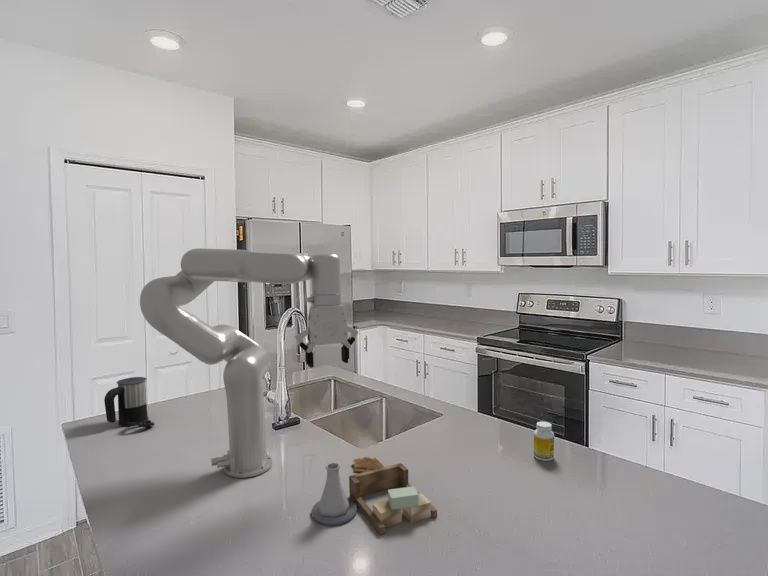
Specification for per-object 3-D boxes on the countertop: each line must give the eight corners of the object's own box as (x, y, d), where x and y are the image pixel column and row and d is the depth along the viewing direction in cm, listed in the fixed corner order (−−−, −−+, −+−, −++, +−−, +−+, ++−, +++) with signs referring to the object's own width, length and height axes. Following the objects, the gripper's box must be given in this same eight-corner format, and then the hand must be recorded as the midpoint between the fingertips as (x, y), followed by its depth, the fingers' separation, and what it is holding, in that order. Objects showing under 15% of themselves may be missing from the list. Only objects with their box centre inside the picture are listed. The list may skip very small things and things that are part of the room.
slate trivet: (320, 530, 94) (320, 527, 94) (306, 506, 103) (306, 503, 103) (363, 517, 98) (363, 514, 98) (346, 495, 107) (346, 492, 107)
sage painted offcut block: (391, 509, 96) (391, 498, 96) (388, 500, 99) (387, 489, 99) (418, 505, 97) (418, 494, 97) (414, 496, 100) (414, 486, 100)
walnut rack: (379, 534, 92) (379, 511, 92) (349, 496, 107) (349, 475, 107) (437, 516, 99) (437, 494, 98) (401, 482, 113) (400, 463, 113)
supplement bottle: (534, 451, 130) (535, 419, 129) (554, 454, 127) (555, 422, 127) (532, 459, 125) (532, 425, 124) (553, 463, 123) (553, 428, 122)
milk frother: (131, 416, 162) (129, 376, 161) (171, 417, 160) (169, 377, 159) (101, 431, 148) (98, 388, 147) (144, 434, 146) (142, 389, 145)
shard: (390, 479, 116) (390, 472, 116) (362, 485, 113) (362, 478, 113) (375, 461, 126) (374, 454, 126) (349, 466, 123) (348, 460, 123)
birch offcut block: (411, 523, 96) (411, 508, 96) (402, 514, 100) (402, 499, 100) (431, 517, 99) (431, 502, 98) (421, 508, 102) (421, 493, 102)
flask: (318, 500, 104) (317, 459, 103) (349, 498, 105) (348, 457, 104) (316, 519, 97) (315, 474, 96) (350, 516, 97) (349, 472, 97)
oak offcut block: (381, 529, 95) (380, 513, 94) (373, 519, 98) (372, 503, 98) (401, 522, 97) (401, 507, 97) (393, 513, 100) (393, 498, 100)
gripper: (298, 304, 111) (300, 371, 113) (362, 300, 119) (363, 363, 120) (290, 301, 118) (292, 365, 120) (351, 297, 126) (352, 357, 127)
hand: (327, 364), depth 120 cm, fingers open, 9 cm apart
